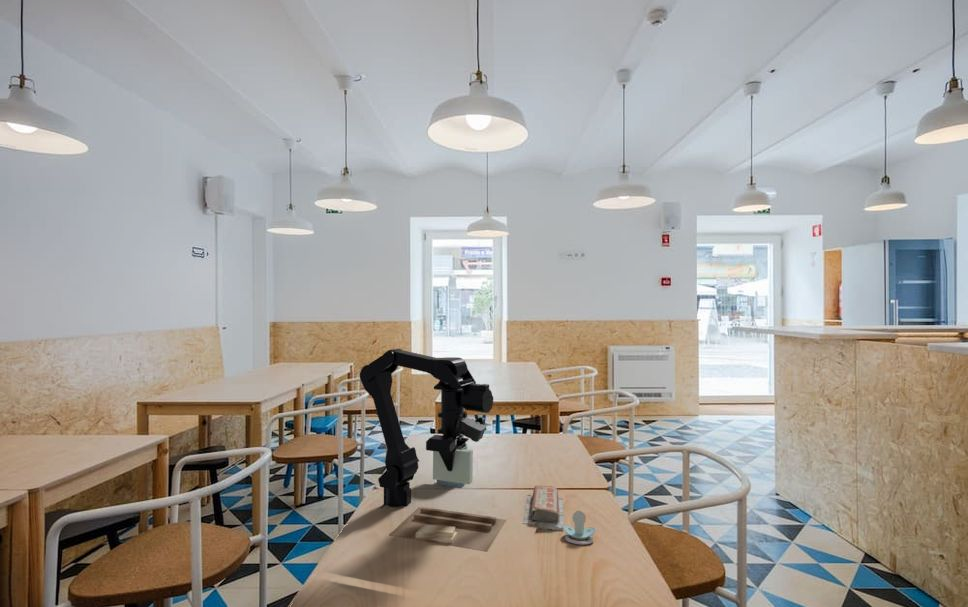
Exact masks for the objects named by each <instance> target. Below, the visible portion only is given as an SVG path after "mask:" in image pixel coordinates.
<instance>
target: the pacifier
mask: <svg viewBox="0 0 968 607" xmlns="http://www.w3.org/2000/svg"><path fill="white" fill-rule="evenodd" d="M572 521H573V524H574V527H573V526H571V525H566V524H564V526H563V531H564V532H565V534H567V535H566V536H564V539H565V540H566V542H568V543H571V544H575V545H582V546H583V545H590V544H592V543H594V539H593V538H592V536H593V535H594V534H595V533H596V527H594V526H593V527H587V528H585V526H584V525H585V523H586V521H587V520H586V514H585V513H584V512H583V511H582V510H575V511H574V513H573V514H572ZM571 537H572V538H573V539H572V538H571ZM575 539H576V540H575ZM585 539H587V540H585Z"/></svg>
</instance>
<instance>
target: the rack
mask: <svg viewBox="0 0 968 607" xmlns="http://www.w3.org/2000/svg"><path fill="white" fill-rule="evenodd" d="M506 522H507V519H502V518H497V517H495V516H488V515H481V514H473V513H467V512H459V511H452V510H447V509H439V508H433V507H426V506H425V507H424V506H419V507H418V508H416V509H415V510H414V511H413V512H412V513H411V514H410V515H408V517H407V518H405V519H404V520H403V521H402V522H400V524H399V525H398V526H397V527H396V528H395V529H393V530H392V531H391V532H390V533H389V534H388V536H392V537H398V538H403V539H409V540H415V541H420V542H427V543H433V544H440V545H446V546H451V547H456V548H457V547H458V548H464V549H471V550H475V551H482V552H488V550H489V549H490V548H491V546H492V545H493V542H494V541H495V539H496V538H497V536H498V535H499V533H500V532H501V530H502V528H503V526H504V525H505V523H506ZM425 525H435V526H451V527H455V532H458V537H457V538H456V539H455V541H454V542H453V543H452V544H451V543H445V542H438V541H432V540H426V539H420V538H416V532H417V531H418V530H419V529H420V528H421V527H424V526H425Z"/></svg>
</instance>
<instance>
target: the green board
mask: <svg viewBox="0 0 968 607" xmlns="http://www.w3.org/2000/svg"><path fill="white" fill-rule="evenodd" d="M473 453H474V450H473V449H468V448H467V449H460V448H458V449H457V450H456V451H455V456H454V463H453V469H452V471H448V470H447V468H446V466H445V464H444V462H443V460H442V458H441V456H440V454H439V452H437V451H432V480H436V481H437V480H442V481H449V482H456V483H463V484H465V485H470V484H472V483H473V473H474V472H473V468H474V467H473V465H474V464H473V463H474V462H473V461H474V460H473V459H474V458H473Z"/></svg>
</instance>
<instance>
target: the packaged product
mask: <svg viewBox="0 0 968 607" xmlns="http://www.w3.org/2000/svg"><path fill="white" fill-rule="evenodd" d="M532 492H533V493H532V494H527V495H526V496H527V497H526V504H525V510H524V515H523V520H522V521H523V522H522V524H523V525H536V524H538V525H537V526H536V528H541V529H540V530H547V529H552V530H553V531H564V528H563V526H564V525H565V524H564V498H563V497H559V493H558V488H557V487H554V486H552V485H550V486H549V485H534V487H533V491H532ZM552 530H551V531H552Z"/></svg>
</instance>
